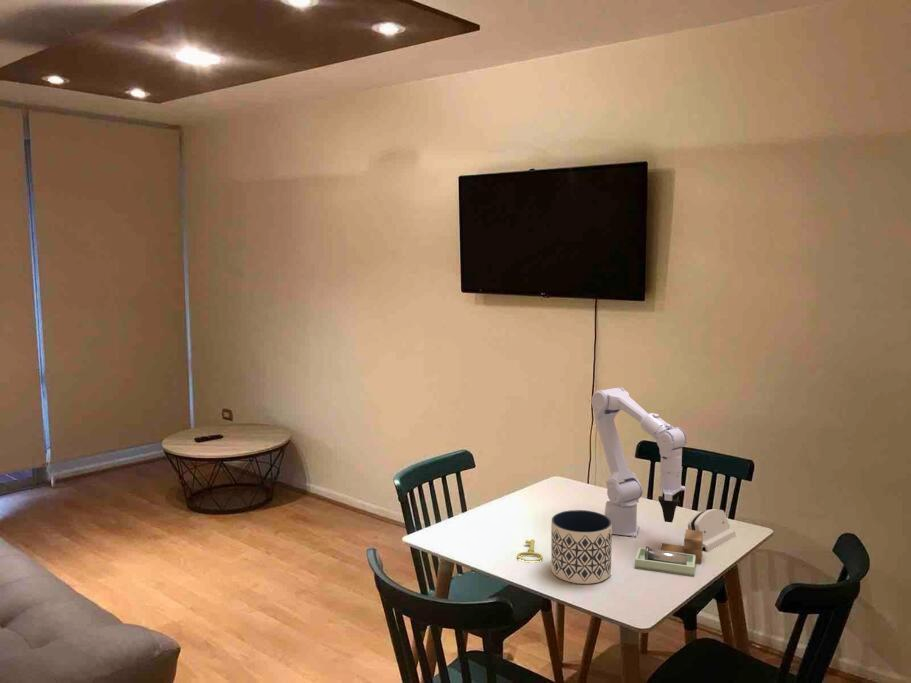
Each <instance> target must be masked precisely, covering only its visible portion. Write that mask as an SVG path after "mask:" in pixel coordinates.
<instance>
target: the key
mask: <svg viewBox="0 0 911 683" xmlns="http://www.w3.org/2000/svg"><path fill="white" fill-rule="evenodd" d="M535 542H536V541H535V539H531V540H528V539H527V540H525V544H529V548H528V549H527V551H522V552H518V554H517V555H516V559H517V558H518V559H521V560H524V561H540V560H542V559H543V560H544V556H543V555H542V553H539V552H535V551H534V550H535ZM521 555H534V556H539V557H540V558H539V557H538V558H535V559H526V558H523V557H522V556H521ZM519 556H521V557H519ZM534 556H533V557H534ZM518 559H517V560H518ZM543 560H542V561H543Z"/></svg>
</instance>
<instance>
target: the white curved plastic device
mask: <svg viewBox="0 0 911 683" xmlns="http://www.w3.org/2000/svg"><path fill="white" fill-rule="evenodd" d="M687 528H688V530H696V531H703V539H702V548H705V552H706V553H709V552H711V551H713V550H715V549H716V547H717V548H719V547H720V546H722V545H724V544H725V543H724V542H726V541H728V540H730V539H731V538H733V537H735V536H736V531H735V530H734V529H733V528H731V526H730V523H729V521H728V517H727V515H726V512H725V511H724V510H723V509H717V508H716V509H715V508H712V509H706V510H703V511H702V510H701V511H699V512H697V513H695V514H694V515H692V517H691V518H690V519H689V521H688V522H687ZM736 537H737V536H736ZM736 537H735V538H736ZM733 539H734V538H733ZM730 541H731V540H730ZM728 542H729V541H728ZM723 543H724V544H723ZM726 543H727V542H726ZM721 544H722V545H721ZM719 545H720V546H719ZM718 546H719V547H718ZM714 548H715V549H714Z"/></svg>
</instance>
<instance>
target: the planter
mask: <svg viewBox="0 0 911 683" xmlns="http://www.w3.org/2000/svg"><path fill="white" fill-rule="evenodd" d="M550 527H551V530H550V531H551V540H550V541H551V542H550V543H551V544H550V545H551V548H550V549H551V556H550V557H551V559H550V560H551V562H550V563H551V564H550V565H551V572H552V573H553V575H555V576H556V577H557V578H559V579H560V580H563V581H564V582H569V583H571V582H572V584H577V585H579V584H580V585H590V584H596V583H597V584H598V583H600V582H603V581H605V580H607V579H608V578H609V577H610V576H611V574H612V539H613V538H612V537H613V536H612V535H613V534H612V522H611V520H610V519H609V518H608V517H607V516H605V514H604V513H603V514H602V513H600V512H595V511H592V510H587V509H586V510H584V509H582V510H581V509H572V510H564V511H561V512H558V513H555V514H554V515H553V516H552V517H551V526H550Z"/></svg>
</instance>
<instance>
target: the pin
mask: <svg viewBox="0 0 911 683" xmlns="http://www.w3.org/2000/svg"><path fill="white" fill-rule="evenodd" d="M645 548H646V550H645V560H651V561H658V562H666V563H673V564H680V565H686V564H687V555H685V554H679V553H673V552H667V551H661V550H660V549H654V548H650V546H648V545H646V546H645Z"/></svg>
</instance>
